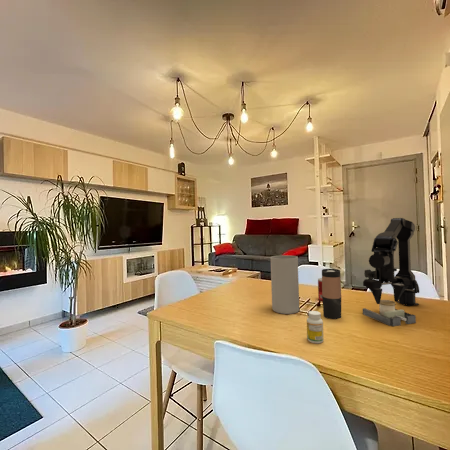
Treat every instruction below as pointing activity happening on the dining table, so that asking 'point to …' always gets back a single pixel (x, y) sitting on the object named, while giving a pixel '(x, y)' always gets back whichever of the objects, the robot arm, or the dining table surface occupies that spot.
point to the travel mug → (331, 293)
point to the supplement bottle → (314, 327)
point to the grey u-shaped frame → (389, 321)
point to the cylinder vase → (285, 284)
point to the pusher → (395, 314)
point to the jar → (386, 306)
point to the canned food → (320, 289)
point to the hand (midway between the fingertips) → (387, 302)
